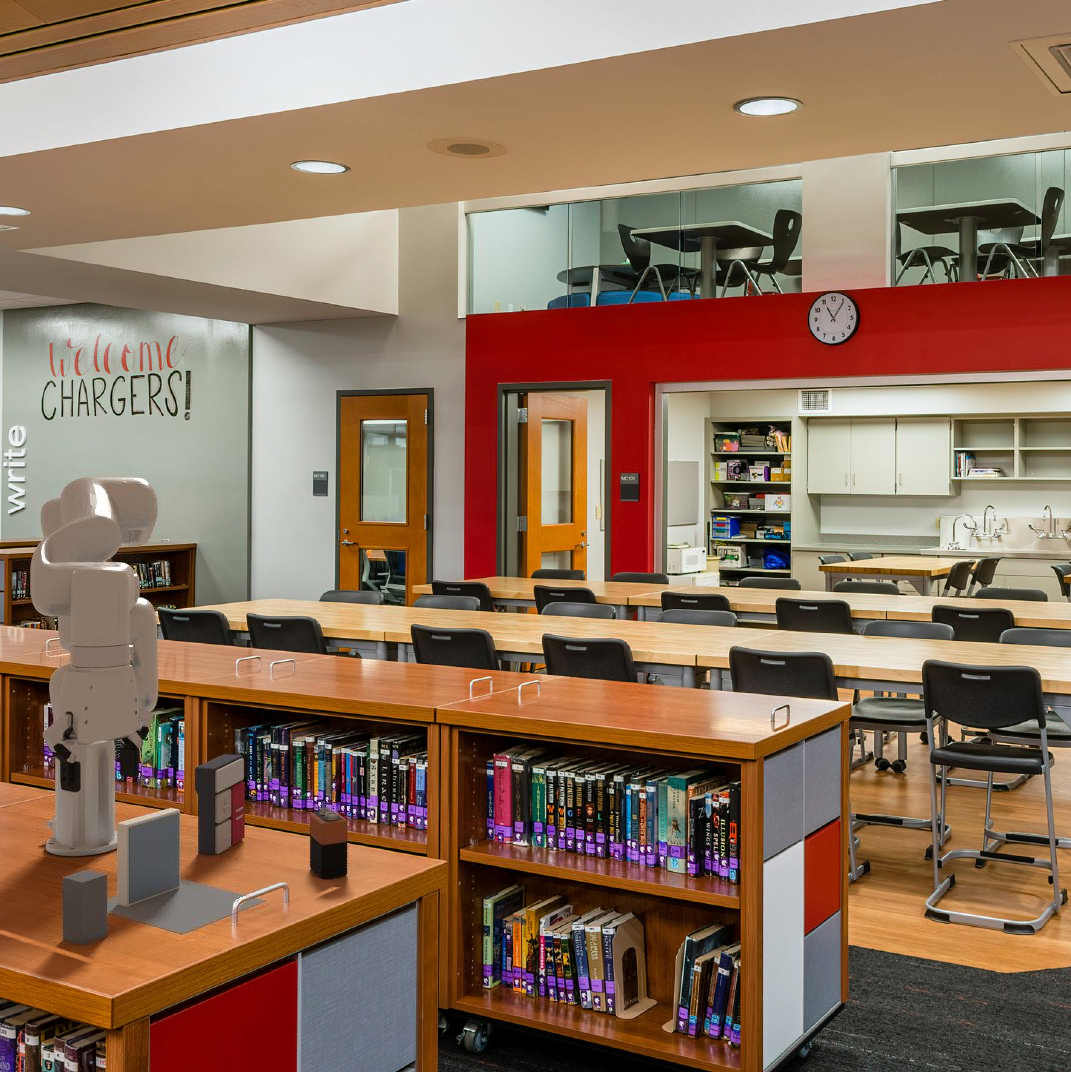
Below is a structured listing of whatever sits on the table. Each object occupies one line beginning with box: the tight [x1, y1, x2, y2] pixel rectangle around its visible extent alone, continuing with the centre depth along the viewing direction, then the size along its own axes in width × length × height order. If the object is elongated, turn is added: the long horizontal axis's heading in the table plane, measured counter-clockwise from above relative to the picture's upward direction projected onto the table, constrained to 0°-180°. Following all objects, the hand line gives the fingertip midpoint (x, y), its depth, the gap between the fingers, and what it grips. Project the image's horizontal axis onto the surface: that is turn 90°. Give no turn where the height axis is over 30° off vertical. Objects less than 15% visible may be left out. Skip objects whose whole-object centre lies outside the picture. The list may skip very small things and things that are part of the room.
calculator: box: [194, 753, 246, 856], centre depth 202 cm, size 11×4×15 cm, turn 168°
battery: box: [309, 807, 349, 880], centre depth 189 cm, size 4×7×10 cm, turn 28°
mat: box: [107, 878, 267, 935], centre depth 173 cm, size 20×16×1 cm
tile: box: [116, 807, 181, 907], centre depth 176 cm, size 2×10×12 cm, turn 149°
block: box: [61, 868, 108, 947], centre depth 159 cm, size 4×4×9 cm
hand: (100, 783), depth 160 cm, fingers open, 9 cm apart
